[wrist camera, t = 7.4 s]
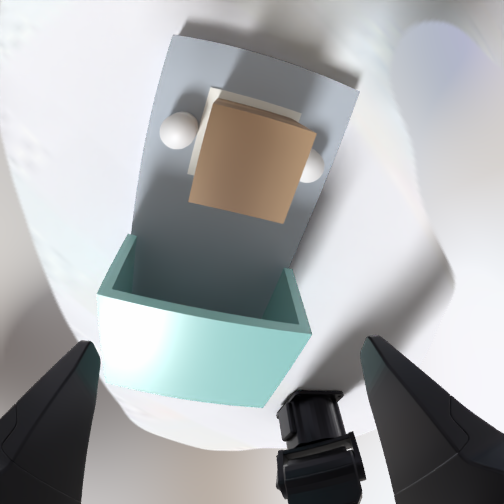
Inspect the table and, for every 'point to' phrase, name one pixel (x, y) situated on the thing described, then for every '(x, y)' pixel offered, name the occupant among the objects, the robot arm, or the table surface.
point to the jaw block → (250, 161)
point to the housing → (197, 341)
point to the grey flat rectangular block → (184, 165)
